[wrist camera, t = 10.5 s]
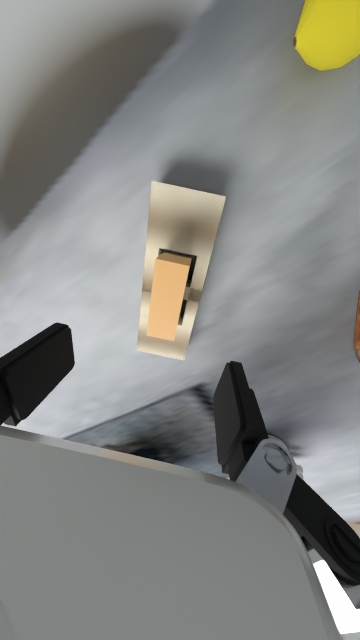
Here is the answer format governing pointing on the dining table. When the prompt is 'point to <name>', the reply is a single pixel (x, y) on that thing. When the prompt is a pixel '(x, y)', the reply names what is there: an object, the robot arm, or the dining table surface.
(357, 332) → the tin
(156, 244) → the rail
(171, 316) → the light orange block
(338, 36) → the lemon
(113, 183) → the dining table surface
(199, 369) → the dining table surface
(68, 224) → the dining table surface
